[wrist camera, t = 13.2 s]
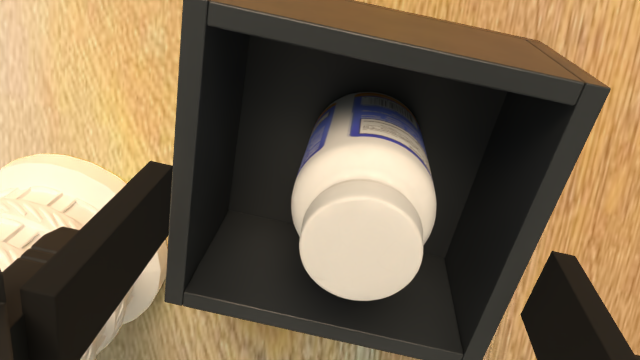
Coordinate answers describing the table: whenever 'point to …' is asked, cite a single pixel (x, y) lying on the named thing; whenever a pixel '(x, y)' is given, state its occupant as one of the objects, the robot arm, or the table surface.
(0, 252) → the decorative container
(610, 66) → the table surface
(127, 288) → the robot arm
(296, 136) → the bin
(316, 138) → the pill bottle
